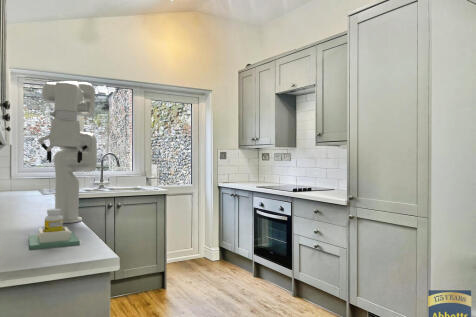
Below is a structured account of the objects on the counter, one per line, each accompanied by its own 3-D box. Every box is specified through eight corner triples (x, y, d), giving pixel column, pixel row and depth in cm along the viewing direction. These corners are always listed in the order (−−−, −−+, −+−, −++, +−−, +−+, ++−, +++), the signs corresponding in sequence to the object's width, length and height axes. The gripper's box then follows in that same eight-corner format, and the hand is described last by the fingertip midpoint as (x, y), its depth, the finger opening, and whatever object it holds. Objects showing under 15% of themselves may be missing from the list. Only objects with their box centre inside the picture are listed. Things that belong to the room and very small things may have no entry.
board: (28, 239, 121) (29, 226, 121) (73, 235, 129) (73, 223, 129) (29, 249, 108) (30, 235, 108) (79, 244, 115) (79, 231, 115)
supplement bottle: (45, 237, 119) (45, 208, 119) (63, 236, 121) (63, 208, 121) (43, 241, 114) (44, 210, 114) (62, 240, 116) (62, 210, 116)
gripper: (39, 113, 123) (38, 163, 123) (92, 117, 132) (91, 163, 132) (38, 114, 129) (37, 161, 130) (89, 118, 138) (88, 162, 139)
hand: (64, 162), depth 131 cm, fingers open, 9 cm apart
